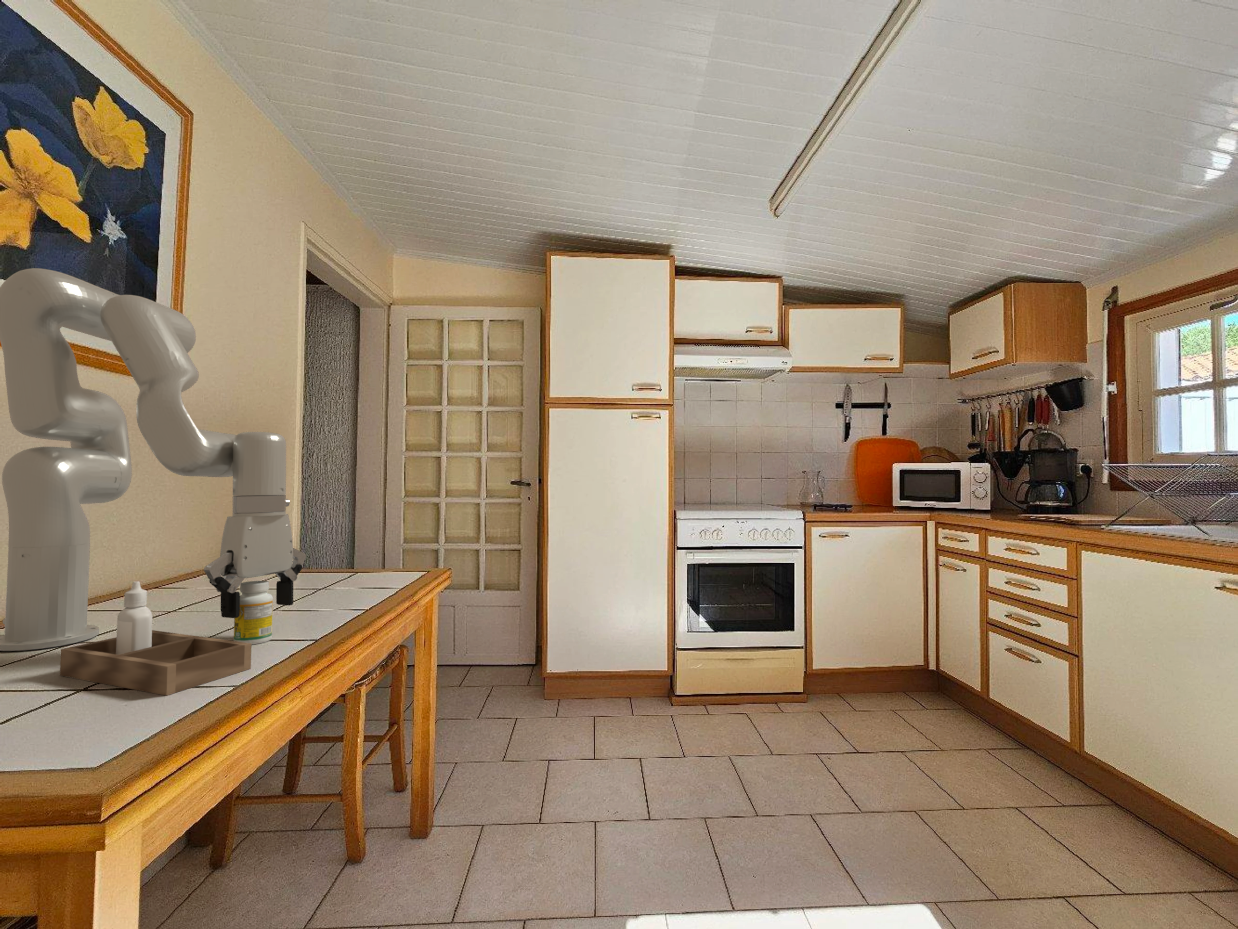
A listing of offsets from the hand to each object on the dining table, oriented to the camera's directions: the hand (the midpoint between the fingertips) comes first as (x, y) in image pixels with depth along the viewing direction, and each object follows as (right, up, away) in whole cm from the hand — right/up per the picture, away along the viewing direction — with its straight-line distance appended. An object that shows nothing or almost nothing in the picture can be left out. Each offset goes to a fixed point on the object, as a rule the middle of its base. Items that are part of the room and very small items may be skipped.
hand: (258, 610), depth 95 cm
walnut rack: (-4, -4, -16) cm, 17 cm away
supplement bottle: (-1, -5, 0) cm, 5 cm away
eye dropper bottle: (-9, -5, -14) cm, 17 cm away
